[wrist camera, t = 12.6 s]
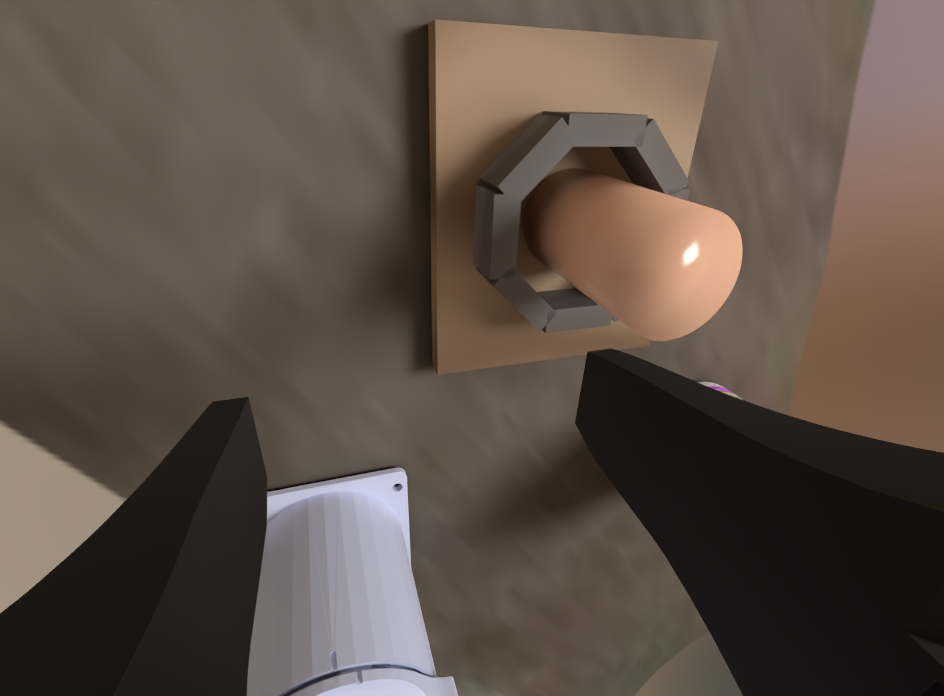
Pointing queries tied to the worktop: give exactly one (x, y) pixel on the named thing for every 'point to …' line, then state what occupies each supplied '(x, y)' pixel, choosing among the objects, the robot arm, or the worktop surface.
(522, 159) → the octagonal holder plate
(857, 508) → the robot arm
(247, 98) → the worktop surface
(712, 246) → the peach rounded peg
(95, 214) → the worktop surface
